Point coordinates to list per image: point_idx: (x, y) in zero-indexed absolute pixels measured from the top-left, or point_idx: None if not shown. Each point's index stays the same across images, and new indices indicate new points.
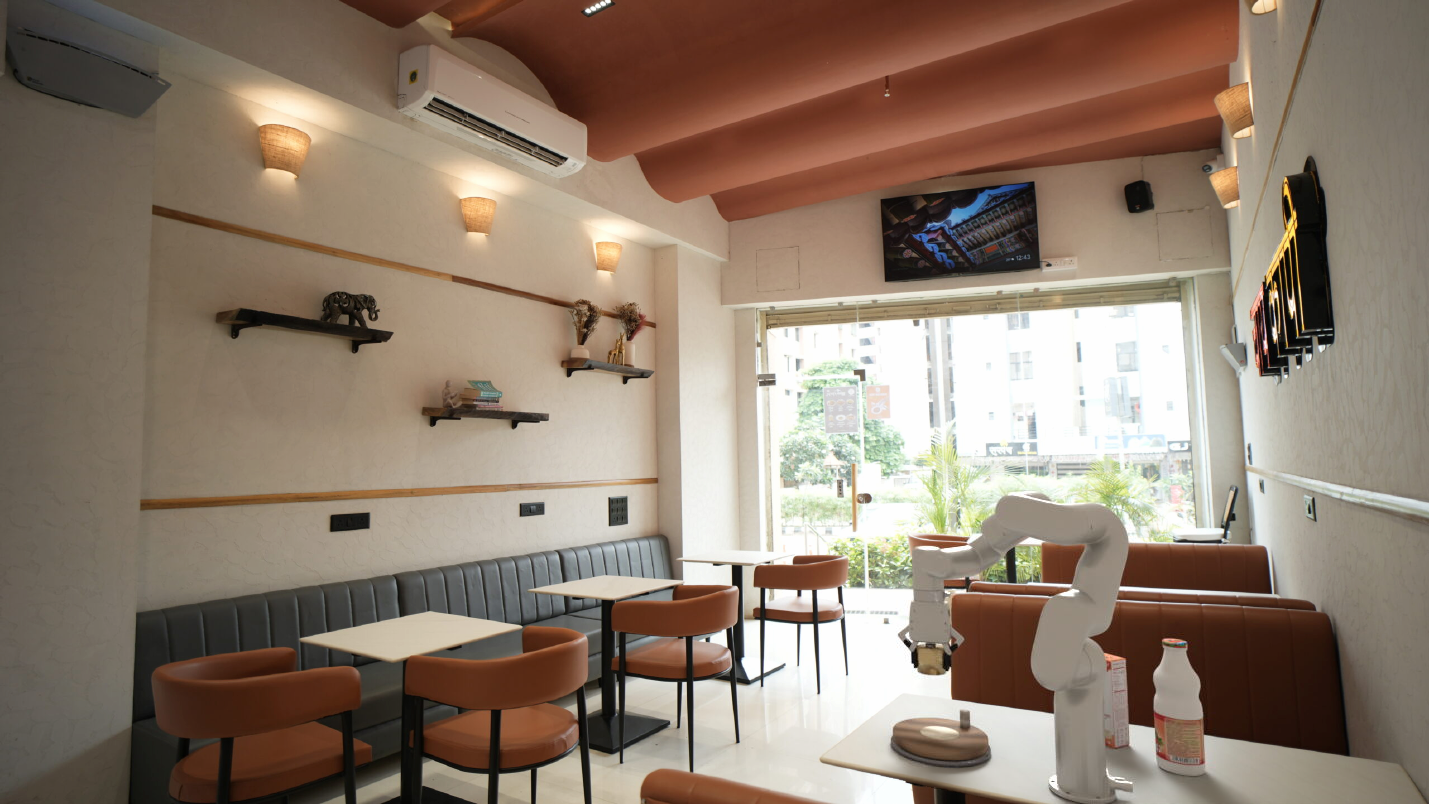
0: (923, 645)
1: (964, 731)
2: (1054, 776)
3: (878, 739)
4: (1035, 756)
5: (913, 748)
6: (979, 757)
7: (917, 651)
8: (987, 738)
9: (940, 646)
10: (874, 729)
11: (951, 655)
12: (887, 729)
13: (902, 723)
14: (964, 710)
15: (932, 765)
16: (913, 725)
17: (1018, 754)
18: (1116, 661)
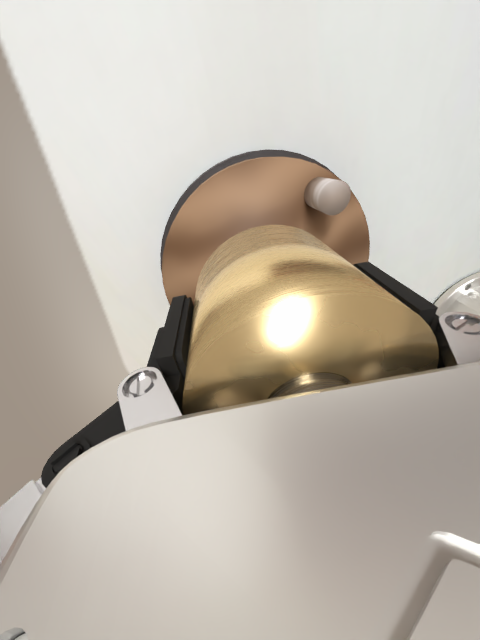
0: (235, 393)
1: (317, 236)
2: (445, 301)
3: (143, 296)
4: (444, 201)
5: None
6: None
7: None
8: (367, 251)
9: (395, 353)
10: (97, 248)
11: (435, 319)
12: (120, 229)
13: (173, 270)
14: (334, 193)
15: None
16: (201, 267)
17: (411, 211)
18: None
